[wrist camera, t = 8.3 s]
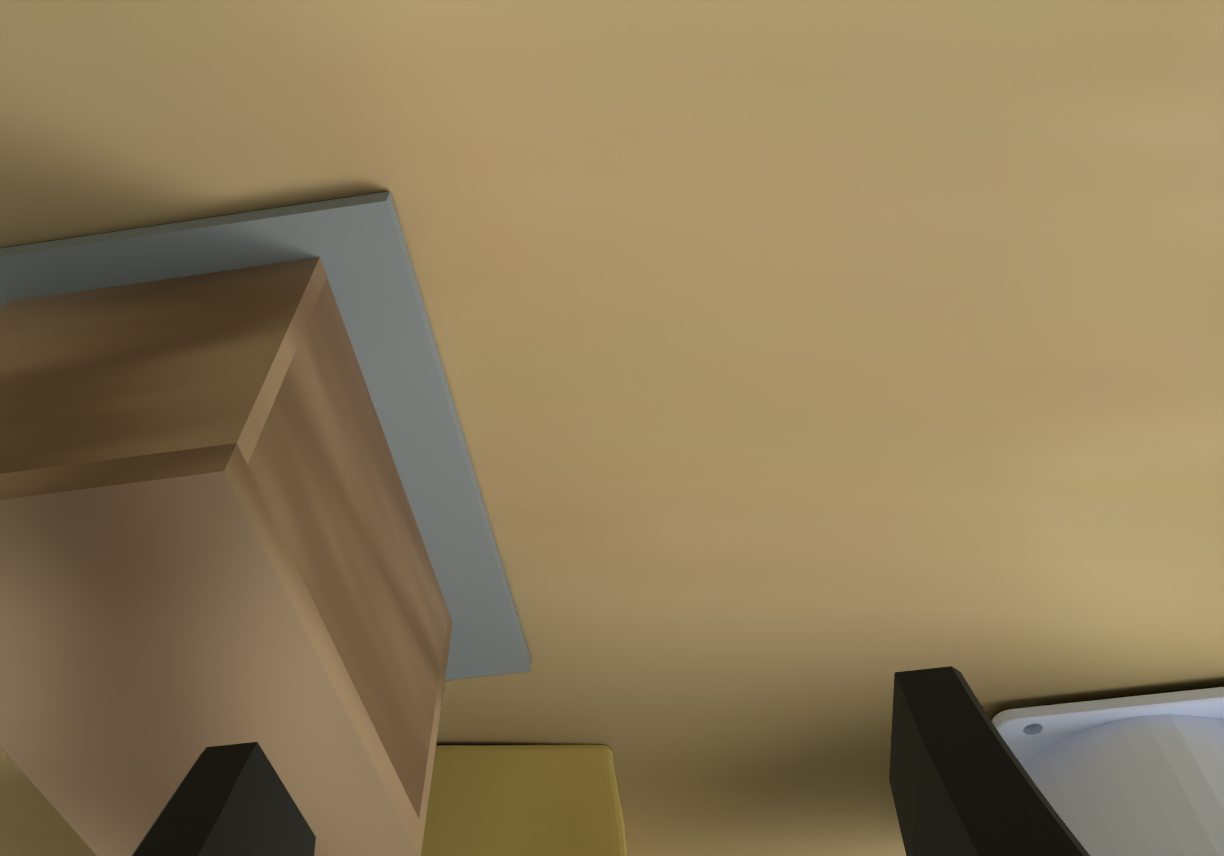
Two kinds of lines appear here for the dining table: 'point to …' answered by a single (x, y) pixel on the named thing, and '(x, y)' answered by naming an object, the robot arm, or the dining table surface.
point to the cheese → (524, 802)
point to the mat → (387, 355)
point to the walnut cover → (210, 559)
